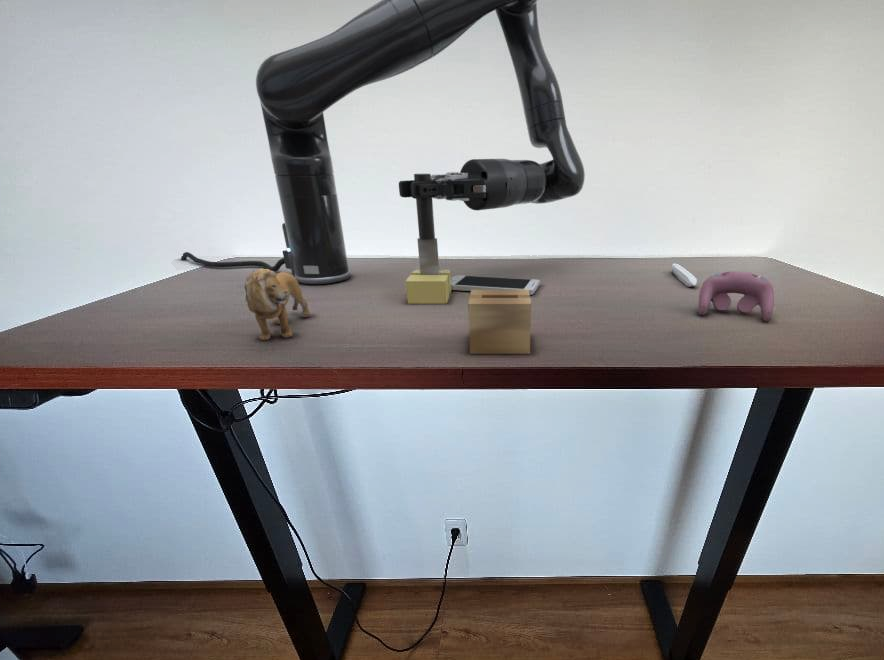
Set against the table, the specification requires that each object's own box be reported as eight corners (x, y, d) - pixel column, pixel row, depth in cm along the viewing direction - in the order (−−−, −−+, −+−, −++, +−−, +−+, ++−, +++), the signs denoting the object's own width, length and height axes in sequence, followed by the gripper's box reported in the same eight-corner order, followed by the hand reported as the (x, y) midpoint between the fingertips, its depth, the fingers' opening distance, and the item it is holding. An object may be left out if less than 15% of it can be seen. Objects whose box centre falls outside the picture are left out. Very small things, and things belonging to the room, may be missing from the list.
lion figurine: (298, 347, 58) (282, 271, 53) (250, 350, 57) (230, 274, 52) (313, 311, 70) (301, 248, 66) (274, 313, 69) (259, 249, 65)
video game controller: (766, 325, 70) (774, 277, 69) (773, 320, 65) (782, 269, 65) (694, 318, 72) (702, 272, 72) (697, 313, 68) (705, 264, 68)
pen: (675, 270, 94) (677, 262, 94) (698, 288, 82) (700, 279, 81) (667, 270, 94) (669, 261, 94) (688, 288, 82) (690, 279, 81)
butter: (407, 303, 74) (405, 281, 72) (415, 291, 80) (413, 270, 79) (446, 303, 74) (445, 281, 72) (451, 291, 81) (450, 270, 79)
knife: (420, 291, 77) (410, 174, 69) (423, 287, 79) (413, 173, 71) (439, 291, 77) (431, 174, 69) (441, 287, 79) (433, 173, 71)
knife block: (470, 353, 56) (468, 303, 53) (473, 336, 61) (471, 289, 58) (529, 353, 56) (531, 303, 53) (527, 336, 61) (528, 289, 58)
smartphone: (456, 279, 87) (455, 274, 87) (539, 284, 84) (540, 279, 84) (442, 289, 81) (442, 284, 80) (532, 295, 78) (532, 289, 77)
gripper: (465, 158, 82) (376, 159, 71) (524, 159, 73) (434, 161, 63) (466, 205, 86) (383, 213, 75) (523, 211, 77) (438, 222, 66)
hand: (406, 189), depth 69 cm, fingers closed on knife, 2 cm apart
